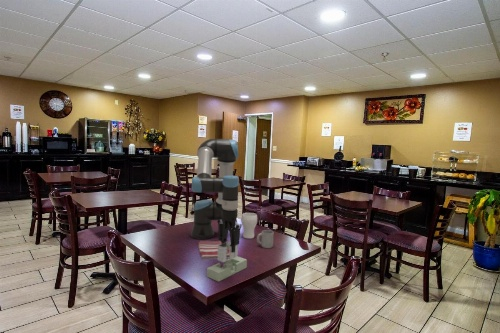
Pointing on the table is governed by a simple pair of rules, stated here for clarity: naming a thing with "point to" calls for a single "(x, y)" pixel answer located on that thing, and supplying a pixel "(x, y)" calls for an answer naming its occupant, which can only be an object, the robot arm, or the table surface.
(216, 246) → the dish towel
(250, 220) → the cup
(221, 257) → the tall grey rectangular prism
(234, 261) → the rail
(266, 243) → the cup
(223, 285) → the table surface
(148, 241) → the table surface
